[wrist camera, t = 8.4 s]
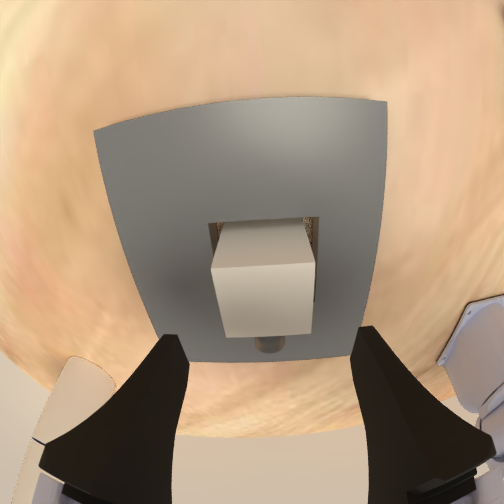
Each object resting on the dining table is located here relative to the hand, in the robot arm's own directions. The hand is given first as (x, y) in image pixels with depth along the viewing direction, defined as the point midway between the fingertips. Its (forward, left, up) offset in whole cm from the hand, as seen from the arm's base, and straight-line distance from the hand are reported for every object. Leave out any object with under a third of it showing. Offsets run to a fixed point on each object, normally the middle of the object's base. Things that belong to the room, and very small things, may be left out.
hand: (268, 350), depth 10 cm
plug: (-1, 0, -8) cm, 8 cm away
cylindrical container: (-17, +23, -8) cm, 30 cm away
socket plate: (0, +1, -8) cm, 8 cm away
